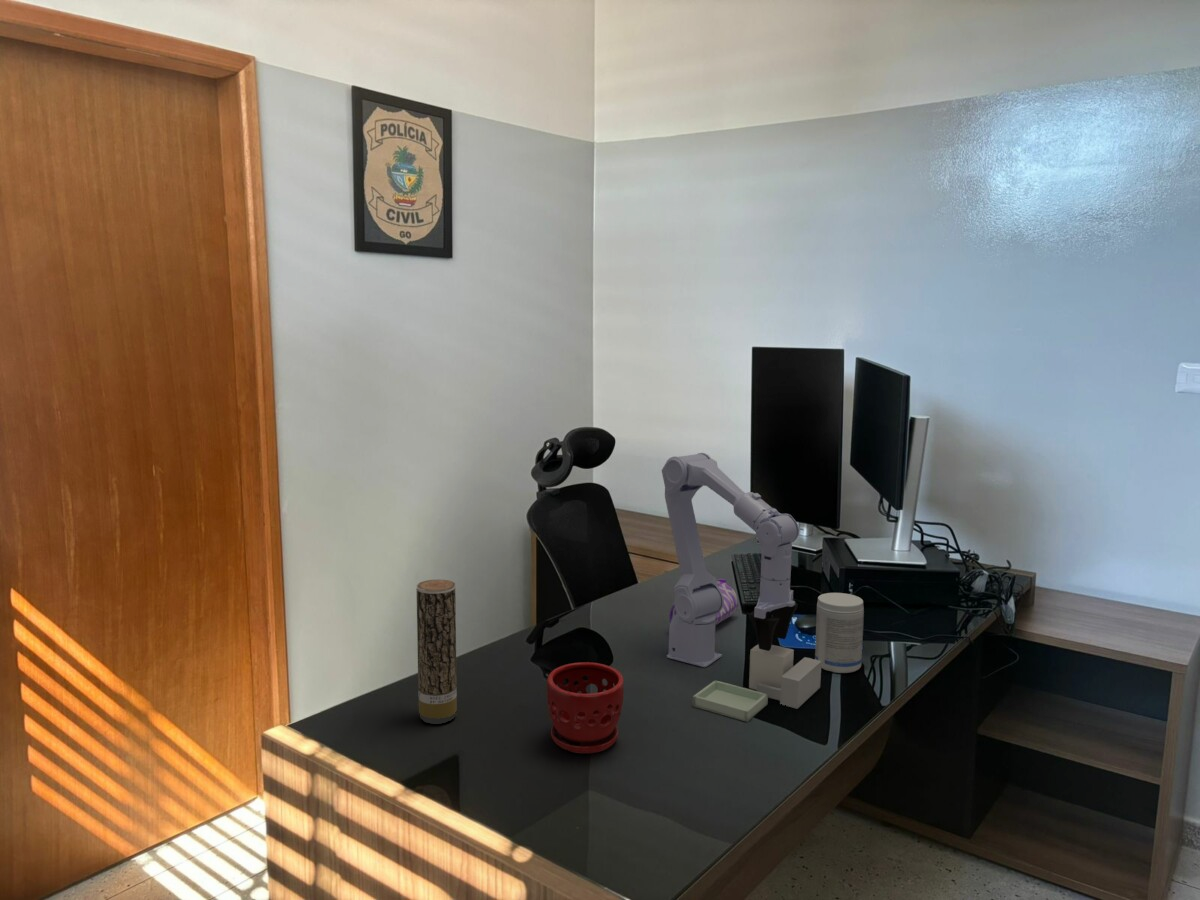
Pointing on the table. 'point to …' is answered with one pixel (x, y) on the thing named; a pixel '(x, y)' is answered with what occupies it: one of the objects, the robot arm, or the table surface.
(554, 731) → the plant pot
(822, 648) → the supplement tub
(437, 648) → the paper tube
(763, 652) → the taupe rectangular block
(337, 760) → the table surface
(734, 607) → the pencil case
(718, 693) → the tray
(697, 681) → the table surface
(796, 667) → the dock
